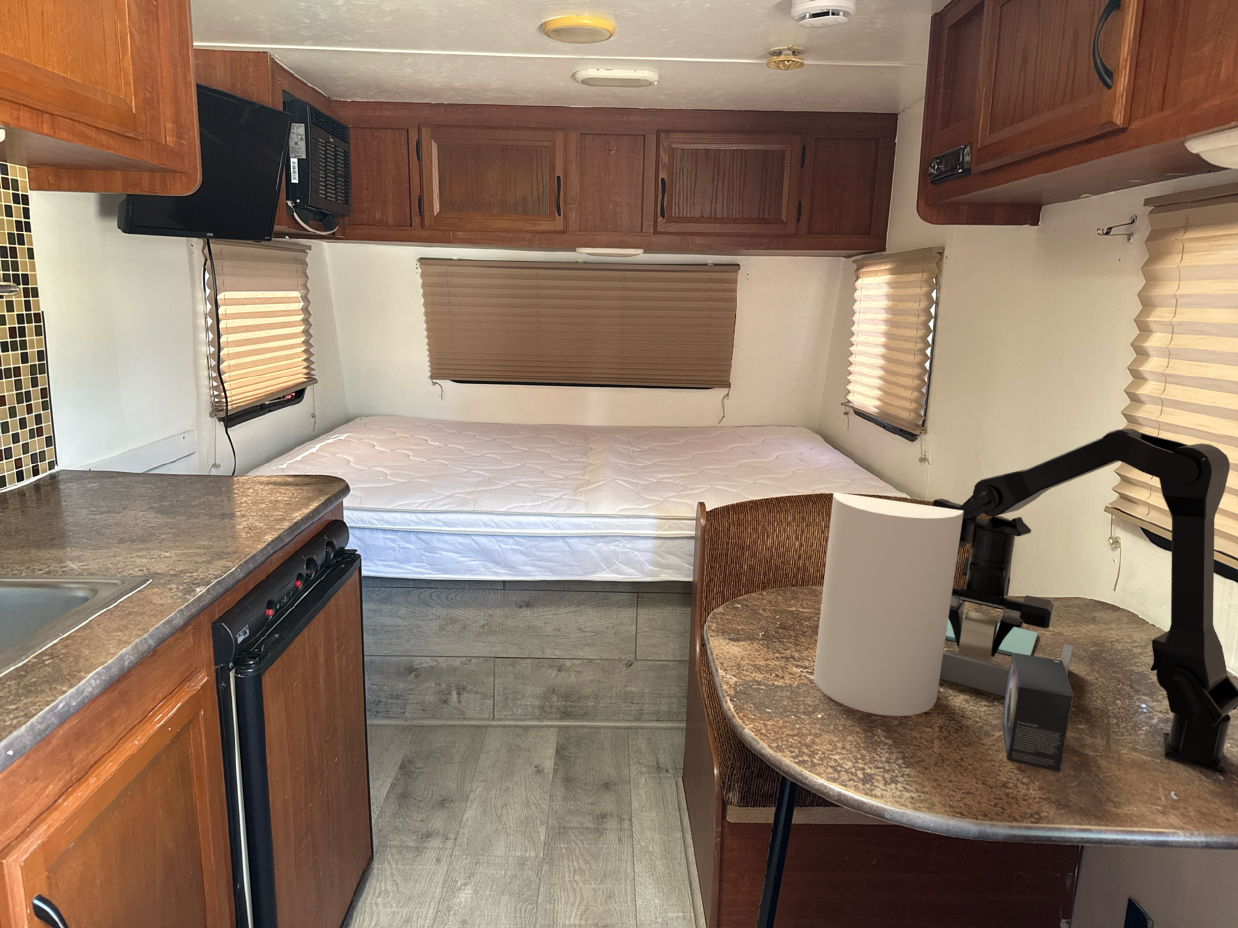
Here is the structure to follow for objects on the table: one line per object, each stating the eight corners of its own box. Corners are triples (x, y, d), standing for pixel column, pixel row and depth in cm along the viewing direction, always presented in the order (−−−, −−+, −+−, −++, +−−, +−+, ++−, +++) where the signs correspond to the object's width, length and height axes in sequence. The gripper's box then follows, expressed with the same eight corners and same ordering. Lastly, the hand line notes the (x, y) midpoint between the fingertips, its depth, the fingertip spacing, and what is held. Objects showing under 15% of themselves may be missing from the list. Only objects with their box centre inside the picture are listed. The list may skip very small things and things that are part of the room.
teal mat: (1029, 659, 129) (1029, 656, 129) (938, 636, 137) (938, 633, 137) (1037, 635, 139) (1037, 632, 139) (952, 615, 147) (952, 612, 146)
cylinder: (931, 728, 107) (961, 525, 101) (802, 696, 114) (822, 505, 108) (940, 675, 122) (965, 497, 116) (825, 650, 129) (844, 480, 123)
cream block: (987, 669, 123) (994, 627, 122) (956, 661, 126) (962, 619, 124) (992, 659, 127) (998, 618, 125) (962, 651, 129) (968, 610, 128)
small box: (998, 720, 110) (1009, 649, 108) (1051, 732, 107) (1064, 659, 105) (1003, 760, 100) (1016, 683, 98) (1062, 773, 98) (1077, 694, 96)
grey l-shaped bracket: (1059, 711, 113) (1064, 685, 112) (879, 661, 126) (882, 637, 125) (1068, 669, 127) (1072, 645, 126) (904, 627, 140) (907, 606, 139)
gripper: (1063, 556, 124) (1047, 650, 128) (937, 532, 134) (925, 620, 137) (1057, 575, 115) (1040, 675, 118) (922, 548, 125) (910, 642, 128)
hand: (976, 651), depth 126 cm, fingers closed on cream block, 4 cm apart
